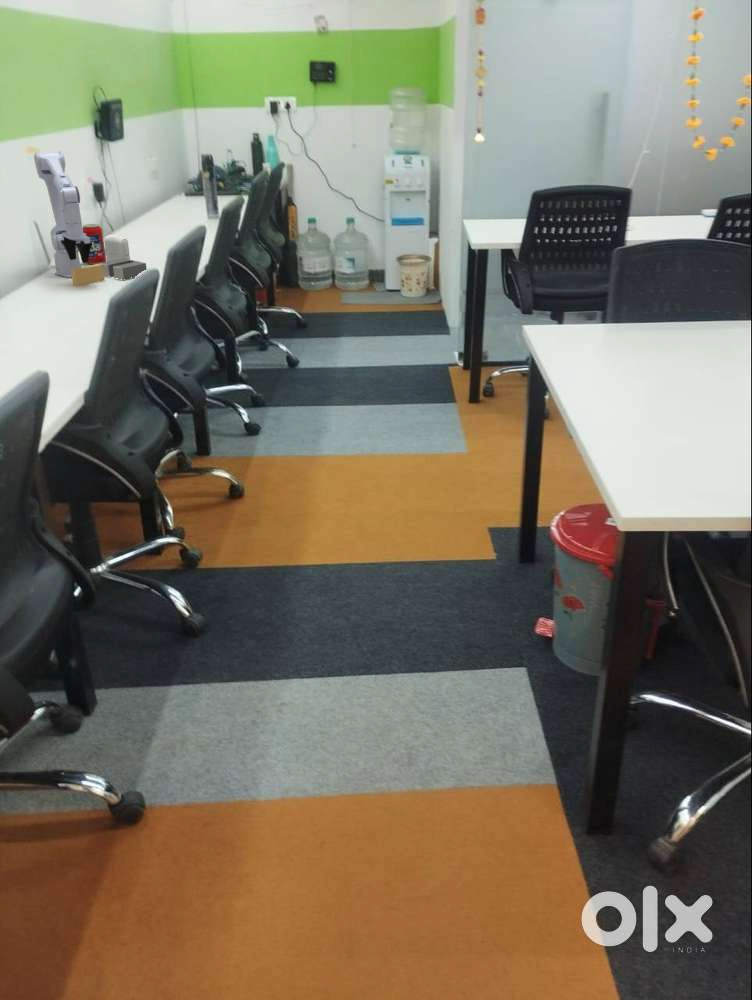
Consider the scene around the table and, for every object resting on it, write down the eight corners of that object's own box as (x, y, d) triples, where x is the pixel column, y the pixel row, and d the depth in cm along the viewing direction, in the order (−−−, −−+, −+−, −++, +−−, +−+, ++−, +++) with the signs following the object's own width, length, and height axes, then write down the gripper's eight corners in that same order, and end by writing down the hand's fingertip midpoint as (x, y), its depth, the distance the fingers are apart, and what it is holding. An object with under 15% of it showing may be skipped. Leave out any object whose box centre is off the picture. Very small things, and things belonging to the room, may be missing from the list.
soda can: (109, 261, 345) (104, 223, 338) (102, 265, 338) (96, 227, 331) (91, 260, 346) (85, 223, 339) (83, 265, 339) (77, 226, 332)
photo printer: (132, 267, 336) (128, 235, 331) (125, 269, 333) (120, 237, 327) (113, 264, 341) (109, 232, 335) (106, 266, 338) (101, 234, 332)
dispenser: (100, 275, 324) (99, 263, 322) (125, 269, 332) (123, 258, 330) (122, 280, 317) (121, 268, 315) (147, 275, 325) (145, 263, 323)
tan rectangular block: (73, 285, 310) (70, 269, 307) (100, 279, 318) (98, 263, 316) (77, 286, 309) (74, 270, 306) (104, 280, 317) (102, 264, 314)
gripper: (95, 223, 300) (100, 261, 307) (70, 218, 308) (76, 256, 314) (78, 226, 295) (84, 265, 302) (53, 221, 303) (60, 259, 310)
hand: (79, 261), depth 308 cm, fingers open, 7 cm apart
